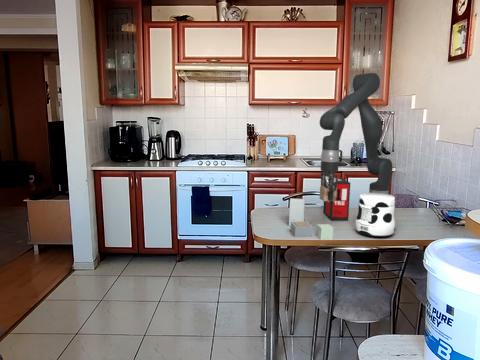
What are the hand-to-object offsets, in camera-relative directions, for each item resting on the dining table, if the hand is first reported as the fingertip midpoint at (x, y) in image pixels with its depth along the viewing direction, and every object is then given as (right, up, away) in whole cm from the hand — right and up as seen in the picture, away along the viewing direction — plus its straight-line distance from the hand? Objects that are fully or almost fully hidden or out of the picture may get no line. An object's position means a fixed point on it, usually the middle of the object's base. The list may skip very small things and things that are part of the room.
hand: (327, 198), depth 174 cm
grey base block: (-10, -17, +7) cm, 21 cm away
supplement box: (-10, -14, +22) cm, 29 cm away
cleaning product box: (+13, -12, +38) cm, 42 cm away
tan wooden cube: (0, -1, 0) cm, 1 cm away
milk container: (+24, -17, +9) cm, 31 cm away
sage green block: (-1, -18, +3) cm, 18 cm away
